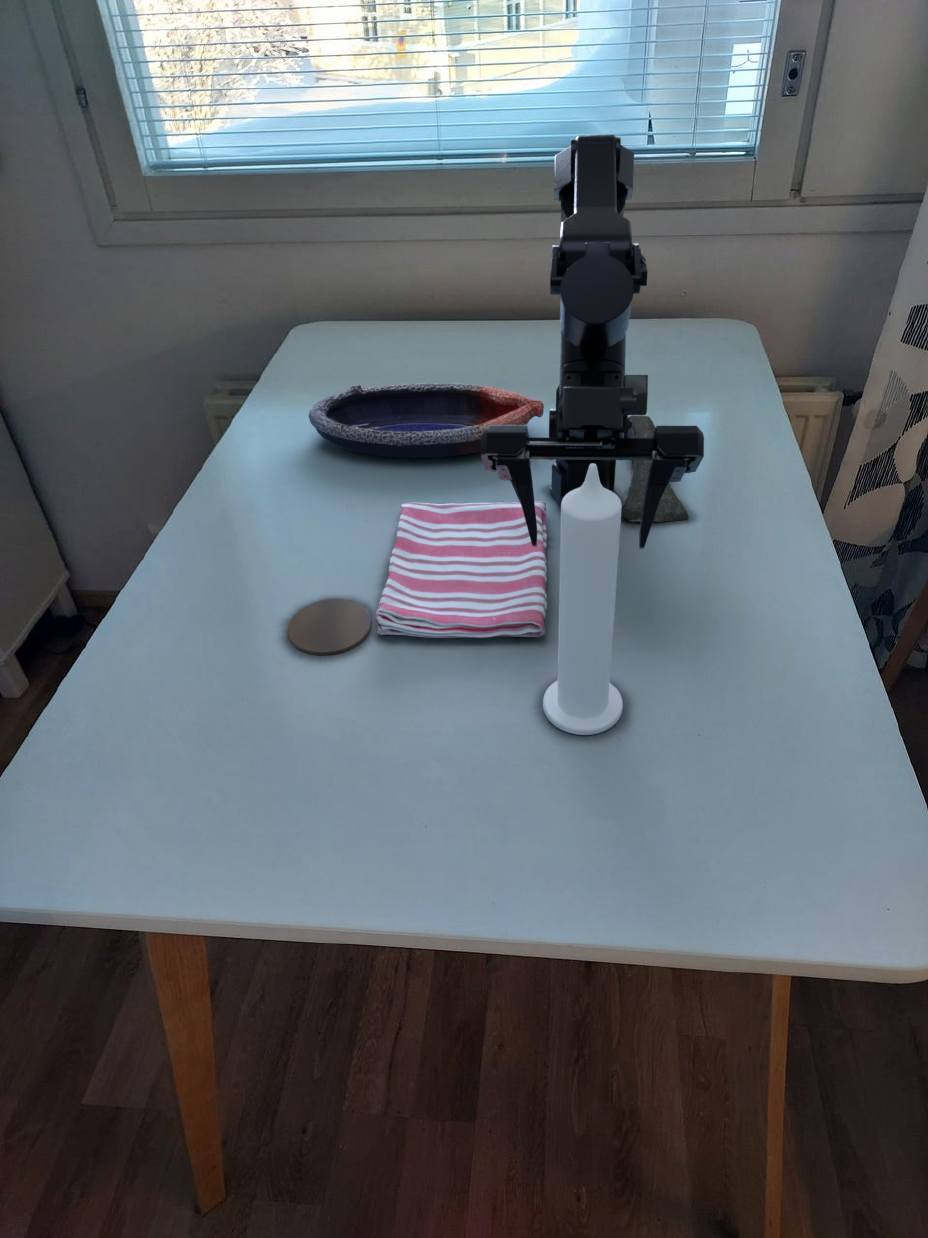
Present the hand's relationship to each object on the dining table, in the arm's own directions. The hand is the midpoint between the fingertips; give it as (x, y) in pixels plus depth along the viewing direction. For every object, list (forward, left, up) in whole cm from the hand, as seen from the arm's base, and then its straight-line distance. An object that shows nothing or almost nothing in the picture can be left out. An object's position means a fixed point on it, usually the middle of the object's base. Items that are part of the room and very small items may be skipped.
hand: (587, 546), depth 80 cm
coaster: (+21, -15, -13) cm, 29 cm away
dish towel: (+5, -17, -13) cm, 22 cm away
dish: (-1, -47, -13) cm, 49 cm away
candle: (+3, +6, -13) cm, 15 cm away
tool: (-23, -26, -13) cm, 37 cm away
